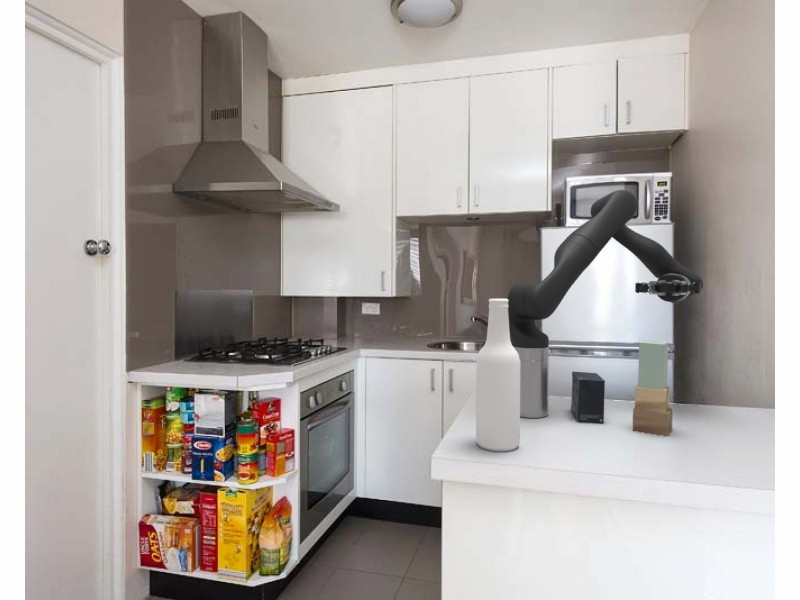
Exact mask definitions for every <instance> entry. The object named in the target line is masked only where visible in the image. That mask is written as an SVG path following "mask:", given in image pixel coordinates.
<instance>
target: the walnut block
mask: <svg viewBox="0 0 800 600" xmlns="http://www.w3.org/2000/svg"><path fill="white" fill-rule="evenodd" d="M673 412H674V408H673V407H672V406H671V407H670V406H669V409H668V410H667V412H666V413H657V412H650V411H643V410H636V409H635V407H633V408H632V431H633V432H636V431H638V432H637V433H642V432H644V434H648V433H651V434H650V435H654V434H656V436H660V435H663V436H662V437H666V436H668V437H669V436H670V434H671V432H672V430H673V417H674V416H673V415H674V414H673Z"/></svg>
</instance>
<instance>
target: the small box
mask: <svg viewBox="0 0 800 600" xmlns="http://www.w3.org/2000/svg"><path fill="white" fill-rule="evenodd" d="M571 384H572V385H571V407H570V412H571V413H572V415H573V417H574V419H575V421H576V422H578V423H580V422H581V423H592V424H593V423H594V424H595V423H596V424H604V423H605V422H604V420H605V418H604V417H605V388H606V387H605V385H606V381H605V379H604V378H602V376H600V375H599V374H598V373H597V372H588V371H587V372H583V371H572V372H571Z"/></svg>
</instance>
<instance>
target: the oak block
mask: <svg viewBox="0 0 800 600" xmlns="http://www.w3.org/2000/svg"><path fill="white" fill-rule="evenodd" d="M669 407H670V385H667V387H666V388H665V389H664V390H659V389H651V388H642V387H638V384H637V385H636V386H635V389H634V408H635V409H636V410H643V411H650V412H657V413H666V412H667V410H668V409H669Z"/></svg>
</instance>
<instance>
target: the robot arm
mask: <svg viewBox="0 0 800 600" xmlns="http://www.w3.org/2000/svg"><path fill="white" fill-rule="evenodd" d="M637 201H638V200H637V198H636V196H635V194H633V193H632V192H631V191H629V190H626V189H618V190H613V191H612V192H610V193H608V194H607V195H605V196H603V197H601V198H599V199H597V200H596V201H595V202H593V203H592V205H591V207H590V217H591V218H590V219H589V220H587V221H586V222H584V223H583V224H580V226H579V227H577V228H576V229H575V230H573V231H572V232H570V234H568V235H567V237H566V238H565V239H563V242H561V243H560V244H559V246H558V247H557V249H556V250H555V253H554V256H553V269H552V270H551V271H550V273H549V274H547V276H546V277H545V278H544V279H543V280H540V281H539V282H518V283H515V284H513V285H512V287H510V290H509V292H508V295H507V299H508V300H509V302H508V305H509V307H508V317H509V331H510V341H511V344H512V346H513V347H514V348H515V350H516V351H517V353H518V354H519V358H520V418H529V419H533V418H534V419H537V418H544V417H547V416H549V366H550V365H549V363H550V362H549V361H550V360H549V359H550V358H549V355H550V354H549V353H550V352H549V351H550V350H549V349H550V347H549V344H550V340H549V339H550V338H549V336H548V335H547V334H546V333H544V332H543V331H541V330H540V329H539V328H538V326H537V325H536V321H541V320H542V321H543V320H546V319H548V318H550V317H551V316H552V315H553V314H554V313H555V311H556V310H557V309H558V307H559V306H560V304H561V302H562V301H563V300H564V298H565V296H566V295H567V293H568V291H570V289H571V288H572V286H573V285H575V283H576V281H577V280H578V279H579V278H580V276H581V275H582V274H583V273H584V272H585V270H586V269H587V268H588V267H589V266H590V265H591V264H592V263H593V261H595V259H596V257H597V256H598V255H599V254H600V252H601V251H602V250H603V249H604V248H605V247H606V246H607V244H608V243H609V241H611V239H612V238H613V240H615V241H616V242H617V243H619V244H620V245H621V246H623V248H625V249H627V250H628V251H629V252H630V253H631V254H633V255H634V256H635V258H636V259H638V260H639V261H640V262H641V263H642V264H643V265H644V266H645V268H646V269H648V271H649V273H651V274H652V275H653V276H654V277H655V278H656V279H657V280H653V281H652V280H651V281H648V282H635V283H634V284H635V289H634V290H635V293H637V294H639V293H642V294H647V293H648V294H649V295H657V297H658V298H659V299H660V300H662V301H664V302H668V303H671V304H673V305H678V304H680V303H682V302H684V301H685V300H687V299H689V298H691V297H692V296H694V295H696V294H700V293H701V291H702V290H703V288H704V282H703V279H702V278H701V276H700V275H698V274H697V273H696V272H694V271H692V270H691V269H689V268H687V267H685V266H684V265H682V264H680V262H678V261H677V260H676V259H675V258H674V257H673V256H672V254H670V252H669V251H668V250H667V249H666V248H665V247H664V246H663V245H662V244H660V243H659V242H658V241H656V240H653V239H652V238H649V237H647V236H645V235H642V234H640V233H639V232H637V231H635V230H633V229H632V228H630V227H628V226H627V223H628V222H629V221H631V219H633V218H634V216H635V214H636V213H637V209H638V202H637Z"/></svg>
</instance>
